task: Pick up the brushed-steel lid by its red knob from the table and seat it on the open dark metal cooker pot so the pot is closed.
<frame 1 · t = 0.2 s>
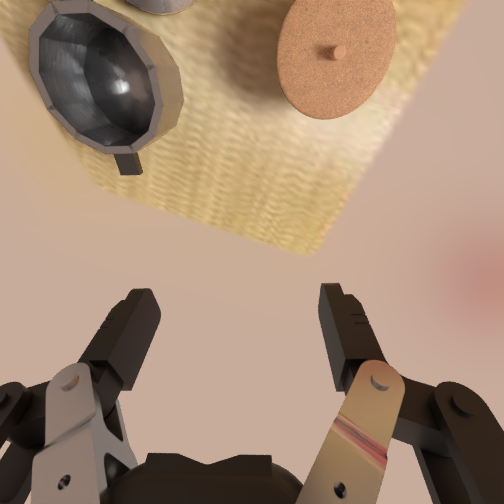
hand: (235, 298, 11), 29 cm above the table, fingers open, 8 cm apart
lidded jar: (318, 59, 29), on the table
pot: (133, 86, 31), on the table
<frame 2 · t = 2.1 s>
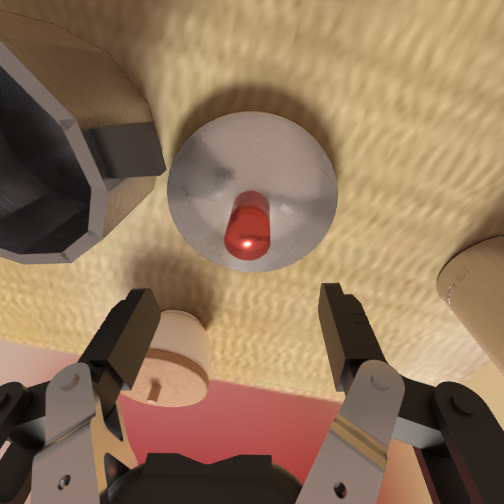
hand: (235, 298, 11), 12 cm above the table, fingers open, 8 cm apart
lidded jar: (179, 323, 32), on the table
pot: (78, 135, 19), on the table
lid: (252, 199, 21), on the table
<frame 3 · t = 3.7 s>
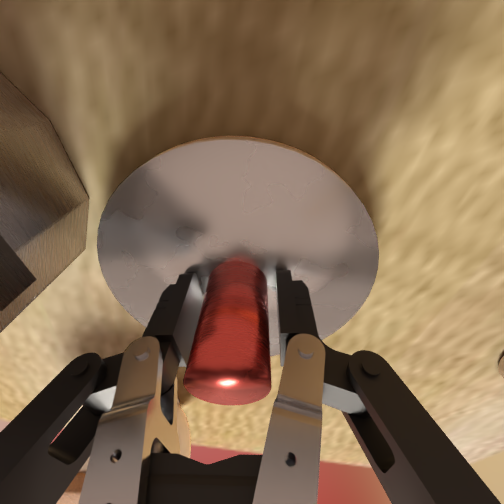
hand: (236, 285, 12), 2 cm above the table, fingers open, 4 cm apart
lidded jar: (150, 396, 25), on the table
lid: (240, 262, 14), on the table, touching gripper
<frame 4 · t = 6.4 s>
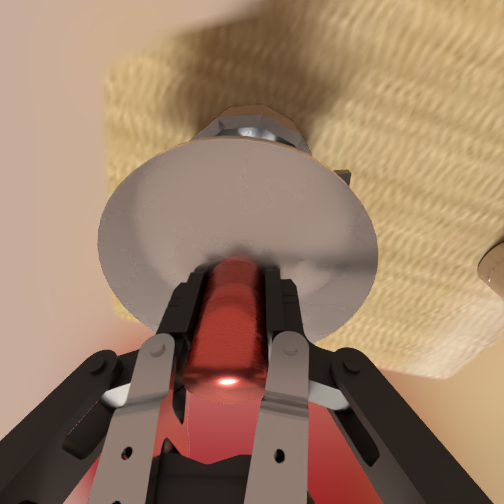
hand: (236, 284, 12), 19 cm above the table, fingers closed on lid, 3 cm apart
pot: (251, 167, 28), on the table
lid: (240, 261, 14), point 17 cm above the table, touching gripper
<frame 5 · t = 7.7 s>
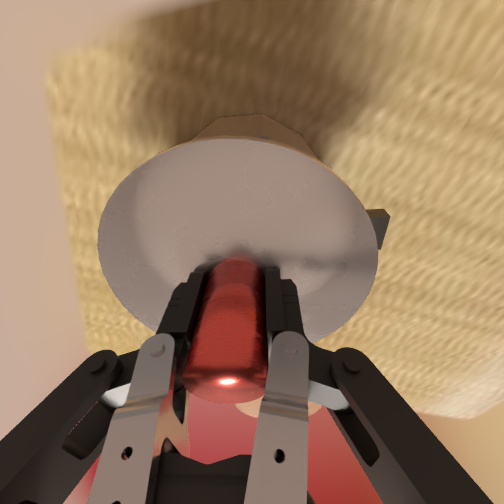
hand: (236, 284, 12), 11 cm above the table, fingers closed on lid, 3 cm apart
lidded jar: (275, 343, 35), on the table
pot: (247, 194, 21), on the table
lid: (239, 261, 14), point 10 cm above the table, touching gripper
when the fingers open (10 cm above the table, at t = 8.7 s): lid drops 1 cm, resting on pot.
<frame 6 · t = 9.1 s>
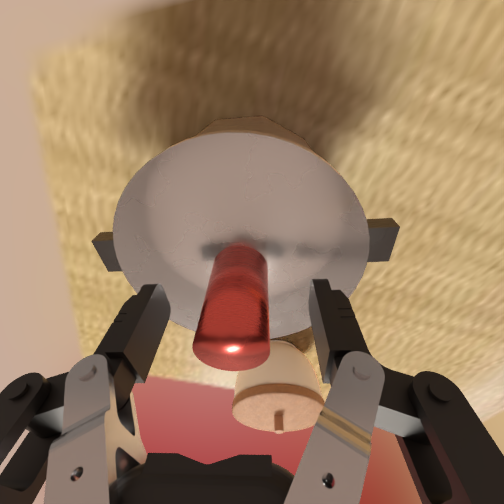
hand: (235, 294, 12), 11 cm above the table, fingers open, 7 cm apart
lidded jar: (275, 351, 34), on the table
pot: (246, 200, 20), on the table
lid: (242, 249, 15), point 7 cm above the table, touching pot
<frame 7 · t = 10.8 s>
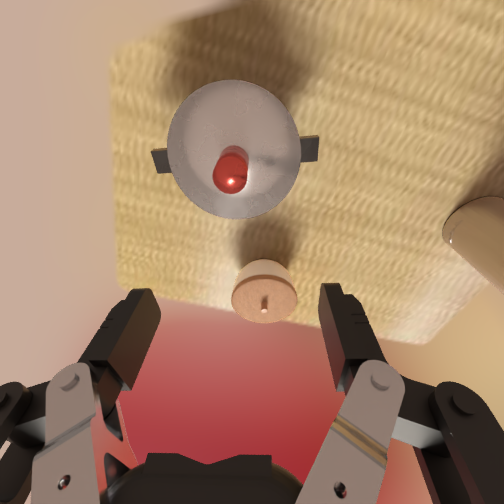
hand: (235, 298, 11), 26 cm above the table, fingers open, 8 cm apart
lidded jar: (263, 270, 46), on the table
pot: (238, 141, 32), on the table
lid: (235, 156, 26), point 7 cm above the table, touching pot
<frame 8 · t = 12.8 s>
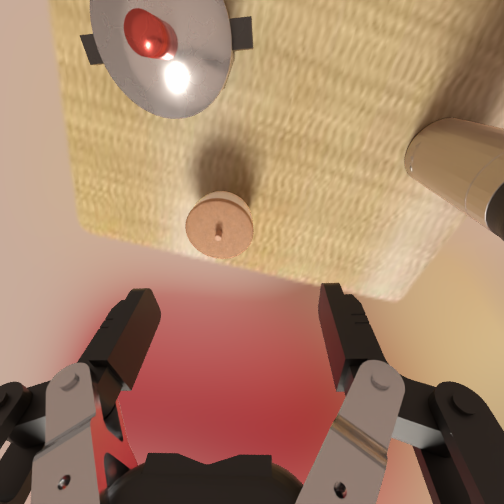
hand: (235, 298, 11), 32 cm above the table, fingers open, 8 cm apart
lidded jar: (225, 209, 44), on the table
pot: (184, 48, 31), on the table
lid: (168, 42, 25), point 7 cm above the table, touching pot
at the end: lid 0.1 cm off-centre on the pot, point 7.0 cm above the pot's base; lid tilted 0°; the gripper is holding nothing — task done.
